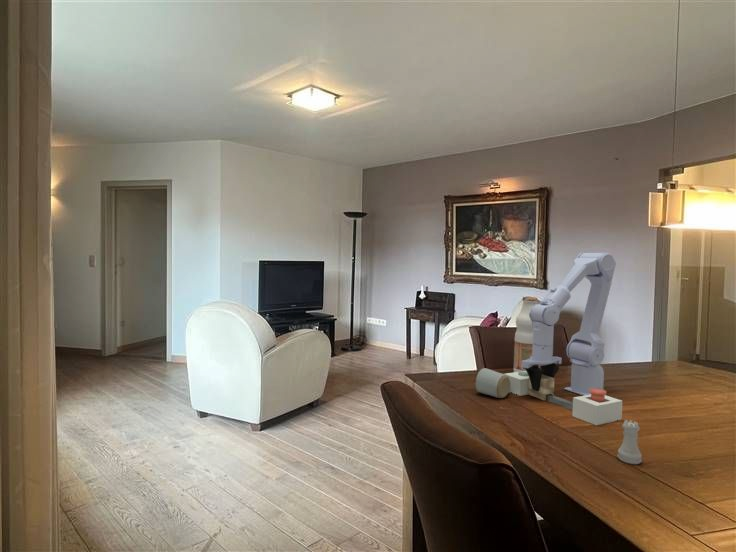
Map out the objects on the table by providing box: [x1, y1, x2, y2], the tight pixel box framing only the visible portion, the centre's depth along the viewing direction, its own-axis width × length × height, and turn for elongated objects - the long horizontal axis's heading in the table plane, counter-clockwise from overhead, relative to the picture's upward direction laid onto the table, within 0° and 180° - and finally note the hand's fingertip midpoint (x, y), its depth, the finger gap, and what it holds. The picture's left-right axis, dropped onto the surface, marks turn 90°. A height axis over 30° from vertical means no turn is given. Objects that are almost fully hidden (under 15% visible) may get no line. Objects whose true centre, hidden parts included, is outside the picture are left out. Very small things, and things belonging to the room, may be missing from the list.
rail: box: [545, 394, 573, 411], centre depth 127 cm, size 2×18×2 cm, turn 26°
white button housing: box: [571, 394, 623, 426], centre depth 115 cm, size 10×7×5 cm
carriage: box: [527, 375, 555, 401], centre depth 132 cm, size 4×6×6 cm, turn 26°
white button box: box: [503, 371, 529, 396], centre depth 138 cm, size 10×7×6 cm
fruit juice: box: [513, 296, 541, 372], centre depth 157 cm, size 9×9×28 cm
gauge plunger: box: [589, 388, 607, 403], centre depth 115 cm, size 4×4×4 cm
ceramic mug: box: [475, 367, 511, 399], centre depth 133 cm, size 11×8×8 cm
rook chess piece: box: [616, 419, 643, 465], centre depth 91 cm, size 4×4×8 cm
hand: (541, 389), depth 132 cm, fingers closed on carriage, 4 cm apart
